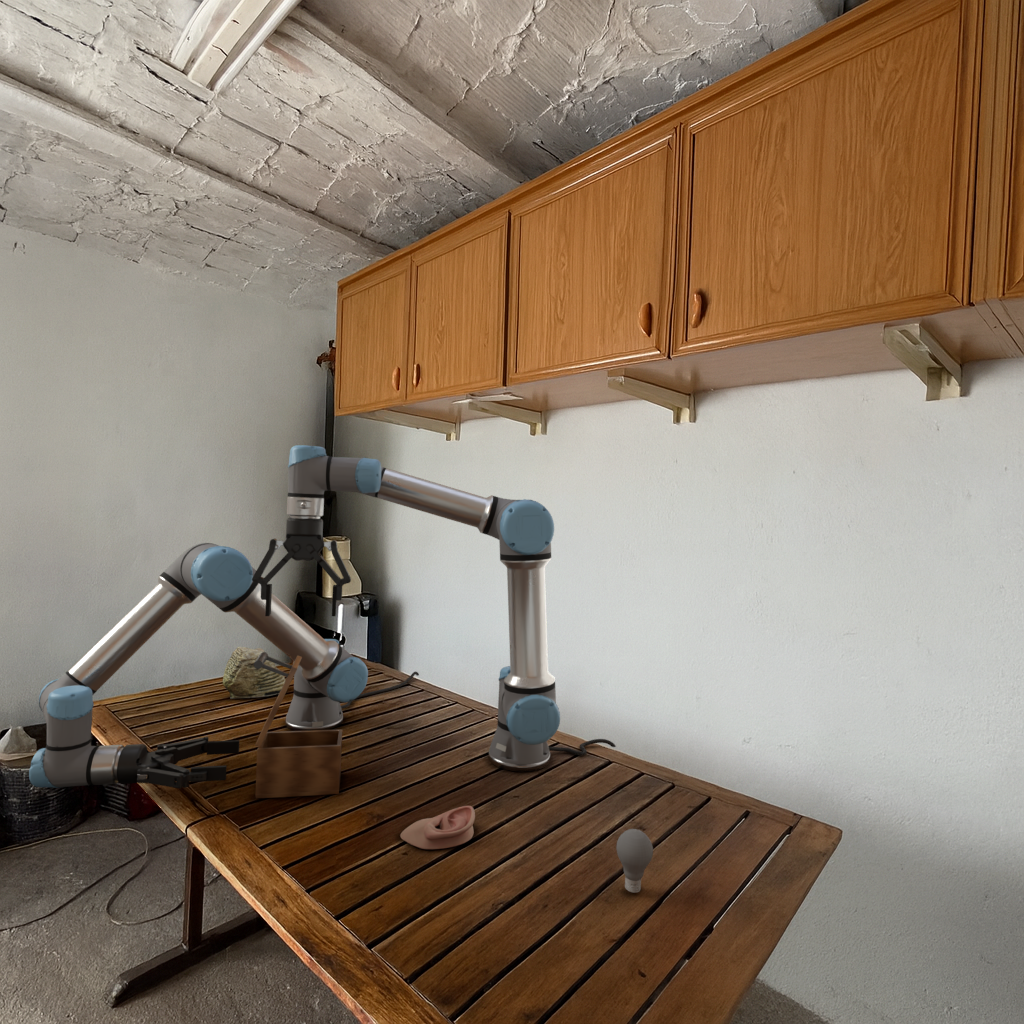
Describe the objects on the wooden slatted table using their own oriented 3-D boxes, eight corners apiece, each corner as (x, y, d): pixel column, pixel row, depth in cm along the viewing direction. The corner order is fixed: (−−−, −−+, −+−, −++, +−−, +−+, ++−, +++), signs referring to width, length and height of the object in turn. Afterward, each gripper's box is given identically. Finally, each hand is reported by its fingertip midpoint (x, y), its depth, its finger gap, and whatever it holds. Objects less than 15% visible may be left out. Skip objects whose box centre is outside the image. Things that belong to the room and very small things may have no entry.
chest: (340, 774, 145) (342, 729, 145) (338, 794, 135) (340, 745, 135) (263, 778, 141) (264, 731, 141) (255, 798, 132) (257, 749, 131)
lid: (302, 656, 142) (265, 642, 141) (297, 668, 133) (258, 653, 131) (267, 730, 141) (230, 716, 139) (259, 747, 132) (219, 733, 130)
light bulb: (610, 879, 108) (613, 822, 108) (644, 879, 109) (647, 822, 109) (619, 902, 102) (622, 840, 102) (655, 901, 103) (658, 840, 103)
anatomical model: (394, 823, 116) (416, 795, 127) (393, 844, 116) (415, 814, 128) (464, 834, 114) (480, 804, 125) (463, 855, 114) (479, 824, 125)
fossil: (218, 695, 195) (220, 647, 195) (278, 685, 208) (279, 640, 207) (228, 703, 189) (230, 653, 188) (289, 692, 201) (290, 645, 201)
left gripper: (142, 757, 142) (243, 753, 147) (96, 812, 118) (219, 804, 123) (143, 724, 142) (244, 721, 147) (97, 772, 118) (220, 766, 123)
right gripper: (239, 515, 131) (236, 618, 131) (364, 520, 136) (360, 618, 136) (246, 514, 138) (243, 611, 138) (364, 518, 143) (360, 612, 144)
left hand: (233, 759), depth 135 cm, fingers open, 13 cm apart
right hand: (301, 615), depth 137 cm, fingers open, 13 cm apart
